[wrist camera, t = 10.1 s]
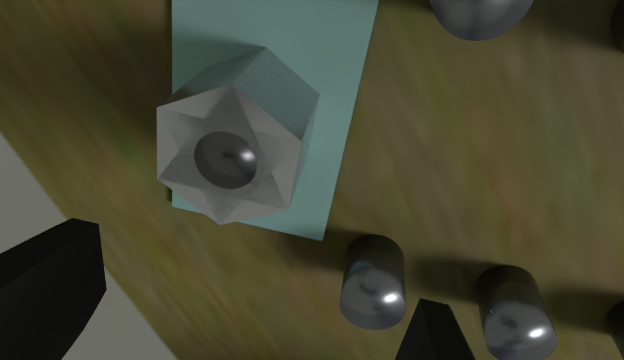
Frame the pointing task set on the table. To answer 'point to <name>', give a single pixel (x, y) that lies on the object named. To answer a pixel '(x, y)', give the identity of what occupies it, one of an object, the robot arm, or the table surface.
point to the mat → (302, 60)
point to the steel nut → (237, 137)
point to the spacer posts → (494, 283)
